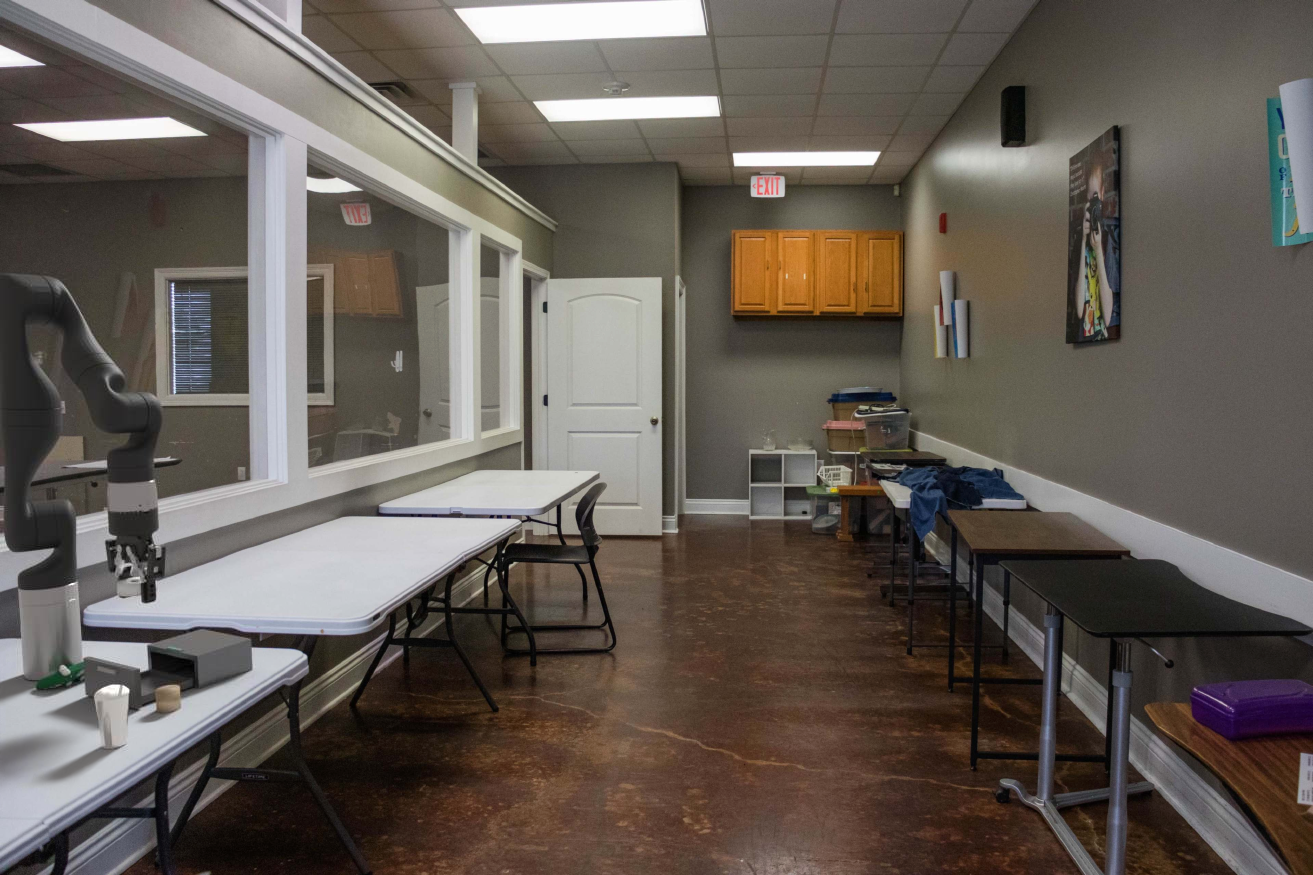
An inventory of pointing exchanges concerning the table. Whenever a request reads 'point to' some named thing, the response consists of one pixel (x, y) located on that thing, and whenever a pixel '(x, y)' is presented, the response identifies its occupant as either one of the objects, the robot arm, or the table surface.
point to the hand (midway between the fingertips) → (137, 599)
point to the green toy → (62, 676)
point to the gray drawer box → (203, 655)
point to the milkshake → (112, 715)
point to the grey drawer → (129, 680)
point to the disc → (130, 587)
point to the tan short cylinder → (168, 698)
